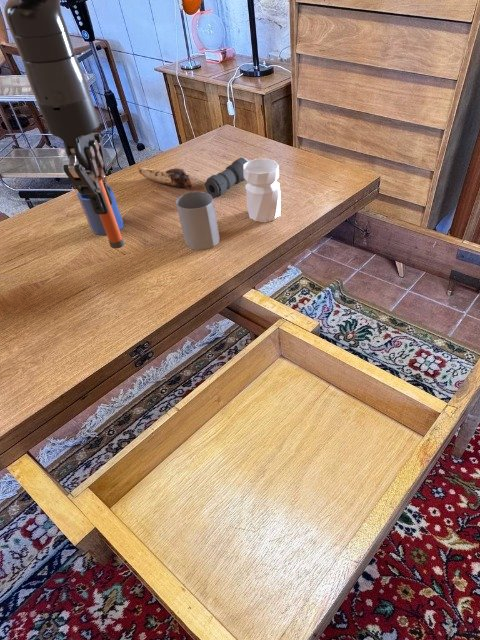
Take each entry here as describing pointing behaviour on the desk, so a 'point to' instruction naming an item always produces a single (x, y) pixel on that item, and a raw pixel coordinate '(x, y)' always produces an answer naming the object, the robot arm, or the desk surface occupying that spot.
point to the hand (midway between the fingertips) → (104, 208)
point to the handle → (110, 222)
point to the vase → (262, 189)
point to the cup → (198, 220)
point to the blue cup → (95, 218)
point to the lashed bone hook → (167, 176)
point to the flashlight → (226, 178)
